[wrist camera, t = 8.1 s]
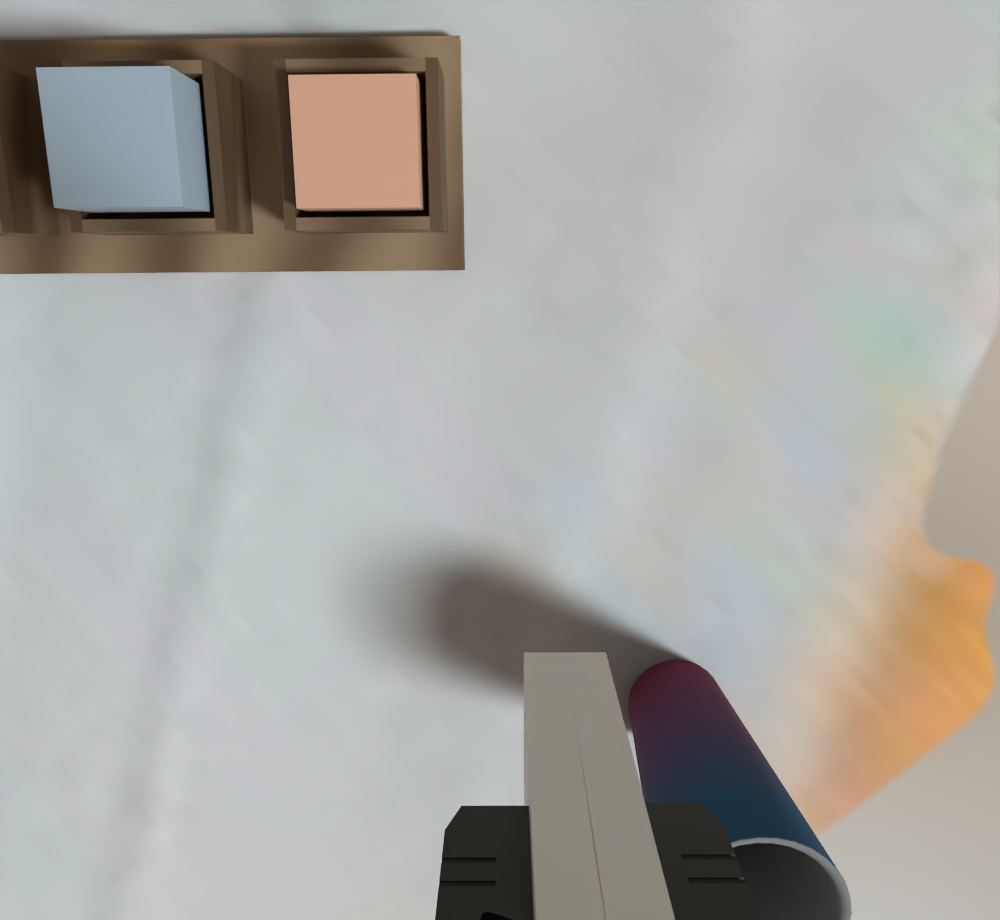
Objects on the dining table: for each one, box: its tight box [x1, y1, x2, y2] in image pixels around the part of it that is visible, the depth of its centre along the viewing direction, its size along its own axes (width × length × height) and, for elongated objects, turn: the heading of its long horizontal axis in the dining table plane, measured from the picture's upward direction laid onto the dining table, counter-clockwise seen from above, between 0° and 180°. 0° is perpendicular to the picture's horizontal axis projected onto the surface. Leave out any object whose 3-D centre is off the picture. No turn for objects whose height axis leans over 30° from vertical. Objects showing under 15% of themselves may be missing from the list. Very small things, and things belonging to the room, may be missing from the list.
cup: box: [628, 661, 852, 920], centre depth 37 cm, size 7×7×15 cm
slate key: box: [36, 66, 210, 213], centre depth 32 cm, size 5×5×3 cm
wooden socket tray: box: [0, 36, 465, 274], centre depth 35 cm, size 26×10×5 cm, turn 90°
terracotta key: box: [288, 73, 427, 213], centre depth 34 cm, size 5×5×3 cm
